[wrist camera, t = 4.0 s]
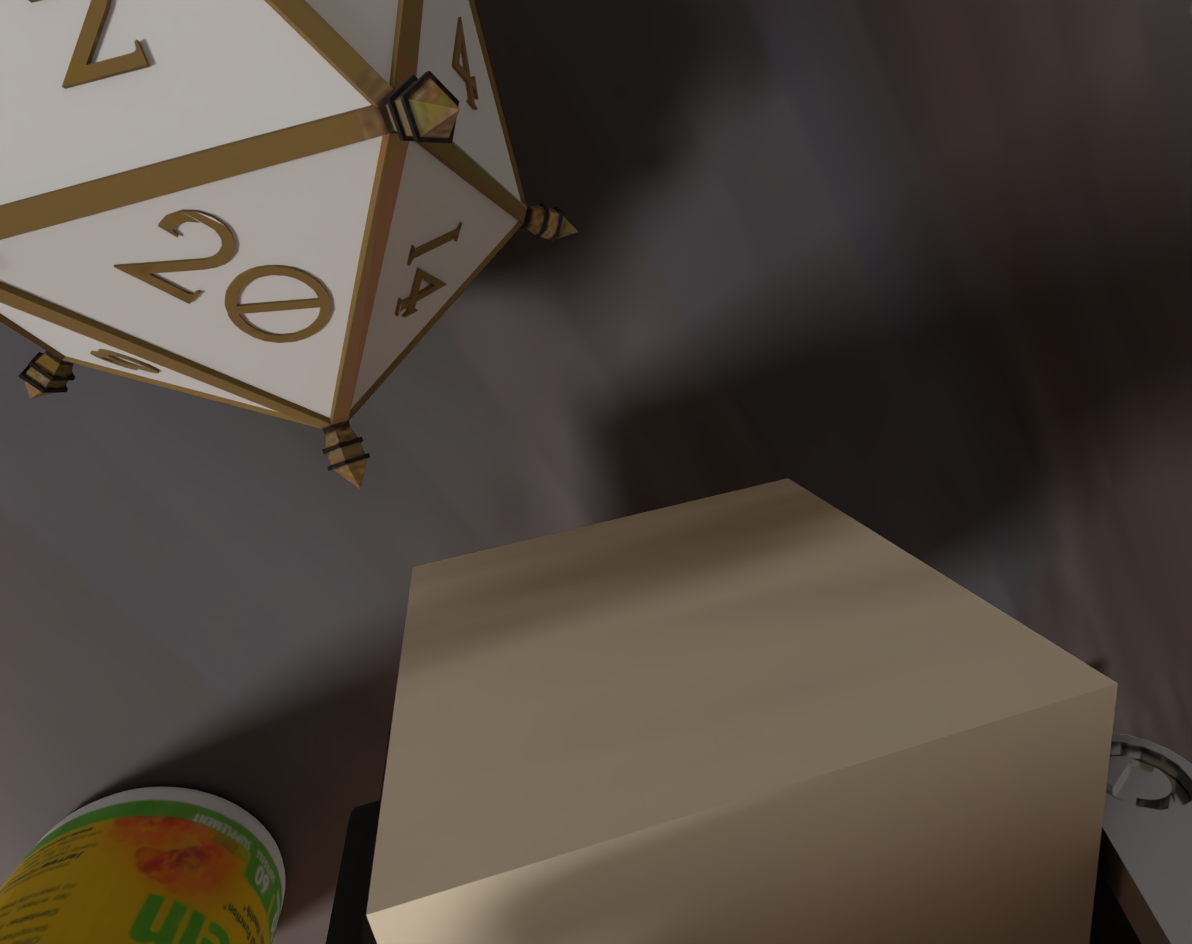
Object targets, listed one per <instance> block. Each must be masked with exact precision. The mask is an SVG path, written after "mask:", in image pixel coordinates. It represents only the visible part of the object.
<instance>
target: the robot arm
mask: <svg viewBox="0 0 1192 944" xmlns="http://www.w3.org/2000/svg"><path fill="white" fill-rule="evenodd" d="M393 711H394V707H393ZM393 711H392V717H391V724H390V732H389V739H388V746H387V753H386V761H385V768H384V775H383V783H382V790H381V797H380V800H379V801H376V802H372V803H369V804H365V805H362V806H358V807H355V808H354V809H353V811H352V812H351V816H350V819H349V824H348V829H347V834H346V839H345V845H344V850H343V855H342V861H341V866H340V871H339V877H338V882H337V887H336V893H335V898H334V903H333V909H332V914H331V919H330V924H329V930H328V935H327V940H326V944H377V942H376V939H375V937H374V934H373V932H372V929H371V926H370V924H369V921H368V918H367V916H366V913H367V905H368V898H369V890H370V883H371V875H372V868H373V860H374V853H375V845H376V838H377V830H378V823H379V815H380V808H381V801H382V793H383V786H384V778H385V771H386V763H387V756H388V748H389V741H390V733H391V726H392V718H393ZM1089 944H1192V764H1190V763H1189V762H1188V761H1187V760H1185V759H1184V758H1182V757H1180V756H1179V755H1177V754H1176V753H1174V752H1172V751H1171V750H1169V749H1167V748H1164V747H1162V746H1160V745H1157V744H1155V743H1153V742H1150V741H1148V740H1144V739H1140V738H1136V737H1133V736H1129V735H1122V734H1112V739H1111V749H1110V758H1109V767H1108V776H1107V785H1106V795H1105V804H1104V813H1103V822H1102V831H1101V841H1100V850H1099V859H1098V868H1097V877H1096V886H1095V896H1094V905H1093V914H1092V923H1091V932H1090V942H1089Z"/></svg>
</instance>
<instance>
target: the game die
mask: <svg viewBox="0 0 1192 944" xmlns="http://www.w3.org/2000/svg"><path fill="white" fill-rule="evenodd" d="M563 214H564V212H563V211H562V210H561V209H560V208H559V207H556V206H555V208H554V209H551V208H548V207H547V206H546V205H545V204H544V203H541V204H540V206H529V205H527V204H526V201H525V197H524V193H523V189H522V185H521V181H520V177H519V174H518V170H517V166H516V162H515V158H514V154H513V150H512V146H511V142H510V138H509V134H508V130H507V127H506V123H505V119H504V115H503V111H502V107H501V103H500V99H499V95H498V91H497V87H496V84H495V80H494V76H493V72H492V68H491V64H490V60H489V56H488V52H487V48H486V44H485V40H484V37H483V33H482V29H481V25H480V21H479V17H478V13H477V9H476V5H475V1H474V0H0V322H2V323H4V324H5V325H7V326H8V327H10V328H12V329H13V330H15V331H16V332H18V333H19V334H21V335H23V336H24V337H26V338H27V339H29V340H31V341H32V342H34V343H35V344H37V345H39V346H40V347H42V348H43V349H45V350H46V352H45V353H44V354H43V353H40V352H39V353H38V354H37V355H36V356H35V357H34V358H33V359H32V361H31V362H30V363H29V364H28V366H27V367H26V368H25V369H24V371H23V372H22V373H21V374H20V375H19V377H20V378H22V379H23V380H24V382H25V385H26V388H27V392H28V395H29V398H30V399H32V398H36V397H39V396H43V395H46V394H50V393H56V392H67V390H68V389H67V387H66V383H67V382H68V380H74V378H75V376H74V375H73V373H72V367H73V364H74V363H75V364H78V365H82V366H86V367H90V368H93V369H97V370H101V371H105V372H109V373H112V374H116V375H120V376H124V377H127V378H131V379H135V380H139V381H143V382H146V383H150V384H154V385H158V386H162V387H165V388H169V389H173V390H177V391H180V392H184V393H188V394H192V395H196V396H199V397H203V398H207V399H211V400H214V401H218V402H222V403H226V404H230V405H233V406H237V407H241V408H245V409H248V410H252V411H256V412H260V413H264V414H267V415H271V416H275V417H279V418H282V419H286V420H290V421H294V422H298V423H301V424H305V425H309V426H313V427H316V428H320V429H322V430H323V432H324V433H325V434H326V449H323V450H322V451H323V454H325V453H328V457H329V460H330V463H331V466H329V467H328V470H334V471H336V472H337V473H339V474H340V475H341V476H343V477H344V478H345V479H347V480H348V481H350V482H351V483H352V484H354V485H355V486H357V487H358V488H359V489H361V487H362V481H363V476H364V470H365V465H366V459H367V458H369V457H370V455H369V453H368V454H365V452H364V450H363V448H362V445H361V442H362V441H363V439H362V437H360V438H358V437H357V436H356V434H355V433H354V432H353V430H352V429H351V428H350V425H349V420H350V419H351V418H352V417H353V416H354V414H355V413H356V412H357V411H358V410H359V409H360V408H361V406H362V405H363V404H364V403H365V402H366V401H367V400H368V399H369V397H370V396H371V395H372V394H373V393H374V392H375V391H376V390H377V388H378V387H379V386H380V385H381V384H382V383H383V382H384V380H385V379H386V378H387V377H388V376H389V375H390V374H391V373H392V371H393V370H394V369H395V368H396V367H397V366H398V365H399V364H400V362H401V361H402V360H403V359H404V358H405V357H406V356H407V354H408V353H409V352H410V351H411V350H412V349H413V348H414V347H415V345H416V344H417V343H418V342H419V341H420V340H421V339H422V337H423V336H424V335H425V334H426V333H427V332H428V331H429V330H430V328H431V327H432V326H433V325H434V324H435V323H436V322H437V321H438V319H439V318H440V317H441V316H442V315H443V314H444V313H445V311H446V310H447V309H448V308H449V307H450V306H451V305H452V304H453V302H454V301H455V300H456V299H457V298H458V297H459V296H460V295H461V293H462V292H463V291H464V290H465V289H466V288H467V287H468V285H469V284H470V283H471V282H472V281H473V280H474V279H475V278H476V276H477V275H478V274H479V273H480V272H481V271H482V270H483V269H484V267H485V266H486V265H487V264H488V263H489V262H490V261H491V259H492V258H493V257H494V256H495V255H496V254H497V253H498V252H499V250H500V249H501V248H502V247H503V246H504V245H505V244H506V242H507V241H508V240H509V239H510V238H511V237H512V236H513V235H514V233H515V232H516V231H517V230H518V229H519V228H526V229H527V230H529V231H530V232H532V233H533V234H534V238H535V239H538V238H539V237H542V238H545V239H548V243H549V244H551V243H552V242H553V241H554V240H555V239H559V238H562V237H565V236H568V235H571V234H574V233H577V232H578V231H577V230H576V229H575V228H574V227H573V226H572V225H571V224H570V222H569V221H568V220H567V219H566V218H565V217H564V216H563Z"/></svg>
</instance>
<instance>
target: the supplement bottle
mask: <svg viewBox="0 0 1192 944" xmlns="http://www.w3.org/2000/svg"><path fill="white" fill-rule="evenodd" d="M284 894H285V870H284V865H283V860H282V857H281V854H280V851H279V848H278V846H277V844H276V842H275V841H274V839H273V838H272V836H271V834H270V833H269V832H268V831H267V830H266V828H265V827H264V826H263V825H262V824H261V823H260V822H259V821H258V820H257V819H256V818H255V817H253V816H252V815H251V814H250V813H248V812H247V811H245V810H244V809H242V808H241V807H239V806H238V805H236V804H234V803H232V802H230V801H228V800H226V799H224V798H221V797H218V796H215V795H212V794H209V793H206V792H202V791H198V790H193V789H187V788H179V787H146V788H137V789H132V790H127V791H123V792H120V793H116V794H113V795H110V796H107V797H104V798H102V799H99V800H97V801H94V802H92V803H90V804H88V805H86V806H84V807H82V808H80V809H78V810H76V811H75V812H73V813H71V814H70V815H69V816H67V817H66V818H64V819H63V820H62V821H60V822H59V823H58V824H57V825H56V826H54V827H53V828H52V829H51V830H50V831H49V832H48V833H47V834H46V835H45V836H44V837H43V838H42V839H41V840H40V841H39V842H38V844H37V845H36V846H35V847H34V848H33V849H32V851H31V852H30V853H29V854H28V855H27V856H26V857H25V859H24V860H23V861H22V862H21V863H20V865H19V866H18V867H17V868H16V870H15V871H14V872H13V873H12V875H11V876H10V877H9V878H8V879H7V881H6V882H5V883H4V884H3V886H2V887H1V888H0V944H272V940H273V937H274V934H275V931H276V928H277V924H278V920H279V916H280V912H281V909H282V905H283V900H284Z"/></svg>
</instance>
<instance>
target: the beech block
mask: <svg viewBox="0 0 1192 944" xmlns="http://www.w3.org/2000/svg"><path fill="white" fill-rule="evenodd" d="M1117 684H1118V683H1116V682H1115V681H1113V680H1111V679H1110V678H1108V677H1107V676H1105V675H1103V674H1102V673H1100V672H1099V671H1097V670H1095V669H1094V668H1092V667H1090V666H1089V665H1087V664H1086V663H1084V662H1082V661H1081V660H1079V659H1078V658H1076V657H1074V656H1073V655H1071V654H1070V653H1068V652H1066V651H1065V650H1063V649H1062V648H1060V647H1058V646H1057V645H1055V644H1054V643H1052V642H1050V641H1049V640H1047V639H1045V638H1044V637H1042V636H1041V635H1039V634H1037V633H1036V632H1034V631H1033V630H1031V629H1029V628H1028V627H1026V626H1025V625H1023V624H1021V623H1020V622H1018V621H1017V620H1015V619H1013V618H1012V617H1010V616H1009V615H1007V614H1005V613H1004V612H1002V611H1000V610H999V609H997V608H996V607H994V606H992V605H991V604H989V603H988V602H986V601H984V600H983V599H981V598H980V597H978V596H976V595H975V594H973V593H972V592H970V591H968V590H967V589H965V588H964V587H962V586H960V585H959V584H957V583H955V582H954V581H952V580H951V579H949V578H947V577H946V576H944V575H943V574H941V573H939V572H938V571H936V570H935V569H933V568H931V567H930V566H928V565H927V564H925V563H923V562H922V561H920V560H919V559H917V558H915V557H914V556H912V555H910V554H909V553H907V552H906V551H904V550H902V549H901V548H899V547H898V546H896V545H894V544H893V543H891V542H890V541H888V540H886V539H885V538H883V537H882V536H880V535H878V534H877V533H875V532H874V531H872V530H870V529H869V528H867V527H865V526H864V525H862V524H861V523H859V522H857V521H856V520H854V519H853V518H851V517H849V516H848V515H846V514H845V513H843V512H841V511H840V510H838V509H837V508H835V507H833V506H832V505H830V504H829V503H827V502H825V501H824V500H822V499H821V498H819V497H817V496H816V495H814V494H812V493H811V492H809V491H808V490H806V489H804V488H803V487H801V486H800V485H798V484H796V483H795V482H793V481H792V480H790V479H788V478H787V479H783V480H779V481H775V482H770V483H766V484H762V485H758V486H754V487H749V488H745V489H741V490H737V491H732V492H728V493H724V494H720V495H716V496H711V497H707V498H703V499H699V500H694V501H690V502H686V503H682V504H677V505H673V506H669V507H665V508H661V509H656V510H652V511H648V512H644V513H639V514H635V515H631V516H627V517H623V518H618V519H614V520H610V521H606V522H601V523H597V524H593V525H589V526H584V527H580V528H576V529H572V530H568V531H563V532H559V533H555V534H551V535H546V536H542V537H538V538H534V539H530V540H525V541H521V542H517V543H513V544H508V545H504V546H500V547H496V548H491V549H487V550H483V551H479V552H475V553H470V554H466V555H462V556H458V557H453V558H449V559H445V560H441V561H437V562H432V563H428V564H424V565H420V566H415V567H413V569H412V576H411V584H410V591H409V599H408V606H407V613H406V621H405V628H404V636H403V643H402V651H401V658H400V666H399V673H398V681H397V688H396V696H395V703H394V711H393V718H392V726H391V733H390V741H389V748H388V756H387V763H386V771H385V778H384V786H383V793H382V801H381V808H380V815H379V823H378V830H377V838H376V845H375V853H374V860H373V868H372V875H371V883H370V890H369V898H368V905H367V913H366V916H367V918H368V921H369V924H370V926H371V929H372V932H373V934H374V937H375V939H376V942H377V944H1089V942H1090V932H1091V923H1092V914H1093V905H1094V896H1095V886H1096V877H1097V868H1098V859H1099V850H1100V841H1101V831H1102V822H1103V813H1104V804H1105V795H1106V785H1107V776H1108V767H1109V758H1110V749H1111V739H1112V730H1113V721H1114V712H1115V703H1116V694H1117Z"/></svg>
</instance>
